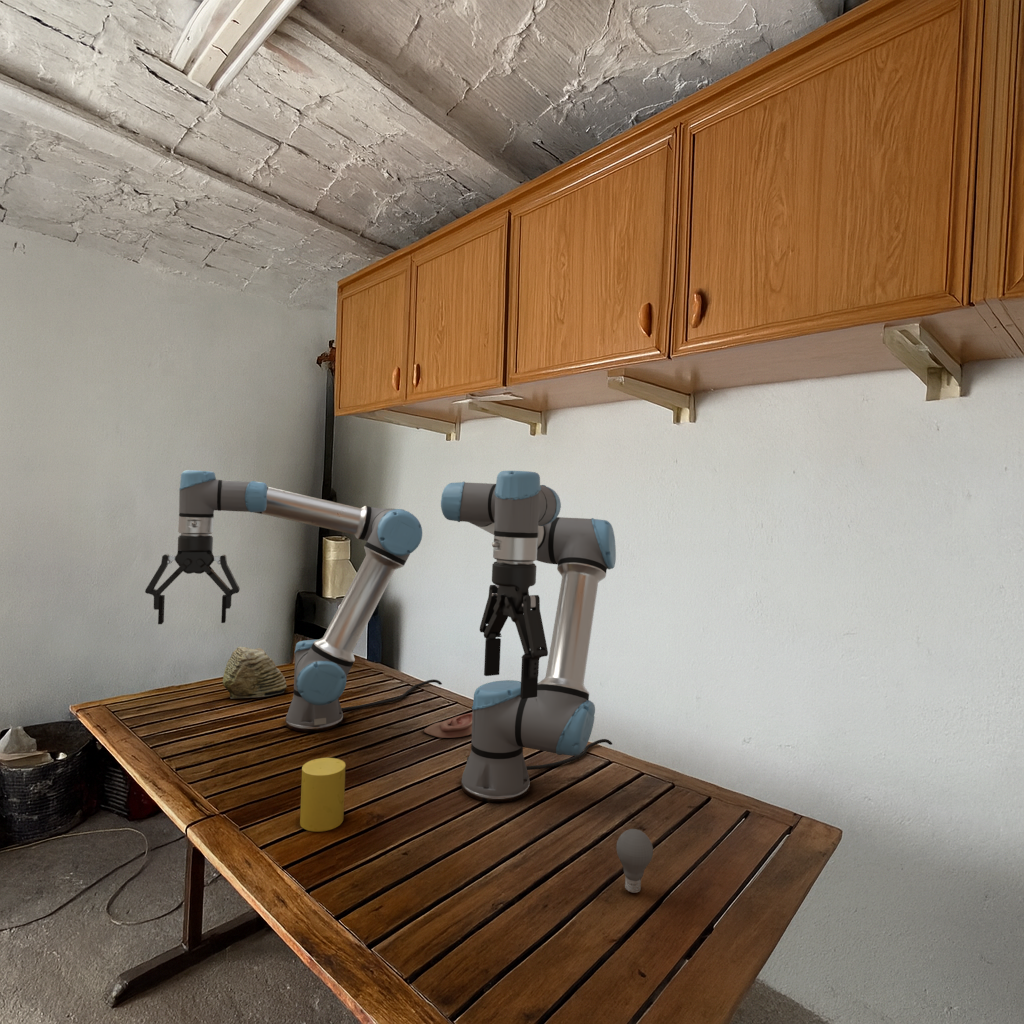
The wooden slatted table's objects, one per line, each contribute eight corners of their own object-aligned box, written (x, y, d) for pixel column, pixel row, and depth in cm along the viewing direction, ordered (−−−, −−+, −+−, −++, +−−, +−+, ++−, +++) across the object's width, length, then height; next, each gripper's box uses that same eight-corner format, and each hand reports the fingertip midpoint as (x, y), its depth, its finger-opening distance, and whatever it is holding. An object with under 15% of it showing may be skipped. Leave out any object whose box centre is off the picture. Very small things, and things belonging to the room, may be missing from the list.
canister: (331, 834, 119) (333, 777, 119) (291, 828, 121) (293, 772, 121) (350, 813, 127) (352, 760, 127) (313, 808, 129) (315, 755, 129)
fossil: (218, 695, 195) (220, 647, 195) (278, 685, 208) (279, 640, 207) (228, 703, 189) (230, 653, 188) (289, 692, 201) (290, 645, 201)
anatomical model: (420, 720, 170) (434, 707, 181) (419, 735, 170) (433, 721, 181) (467, 726, 167) (478, 712, 179) (467, 741, 167) (478, 726, 179)
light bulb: (610, 879, 108) (613, 822, 108) (644, 879, 109) (647, 822, 109) (619, 902, 102) (622, 840, 102) (655, 901, 103) (658, 840, 103)
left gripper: (133, 534, 145) (129, 627, 145) (250, 536, 153) (247, 624, 153) (140, 532, 152) (137, 620, 152) (252, 534, 160) (249, 618, 160)
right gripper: (464, 554, 117) (460, 668, 117) (531, 570, 95) (525, 710, 95) (501, 554, 121) (496, 665, 121) (573, 569, 99) (567, 705, 99)
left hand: (192, 622), depth 153 cm, fingers open, 13 cm apart
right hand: (509, 685), depth 108 cm, fingers open, 13 cm apart
